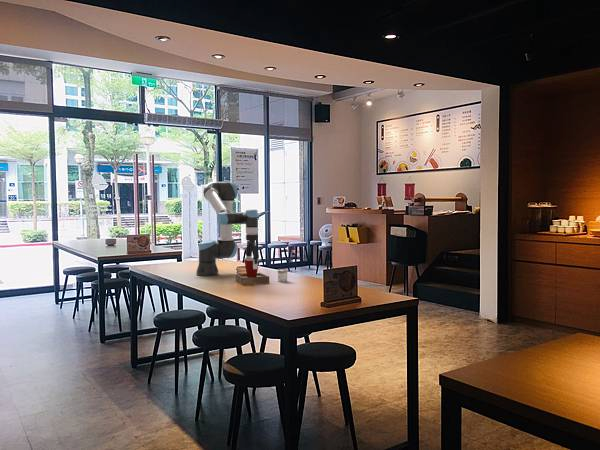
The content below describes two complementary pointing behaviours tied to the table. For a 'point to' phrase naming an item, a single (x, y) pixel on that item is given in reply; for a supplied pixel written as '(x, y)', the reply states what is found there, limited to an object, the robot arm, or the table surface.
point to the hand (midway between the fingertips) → (252, 267)
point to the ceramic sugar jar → (282, 275)
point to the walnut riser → (252, 279)
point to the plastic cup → (250, 267)
